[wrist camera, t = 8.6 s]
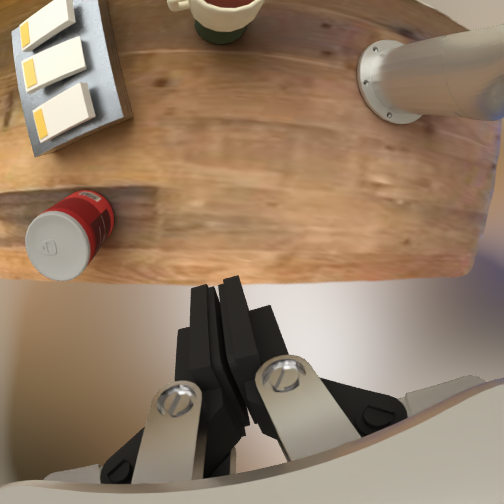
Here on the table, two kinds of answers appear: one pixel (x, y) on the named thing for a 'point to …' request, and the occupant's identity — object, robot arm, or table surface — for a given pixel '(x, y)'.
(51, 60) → the rocker
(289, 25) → the table surface
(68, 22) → the rocker
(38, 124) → the rocker
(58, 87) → the console
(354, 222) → the table surface
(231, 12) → the character mug
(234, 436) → the robot arm
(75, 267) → the canned food
